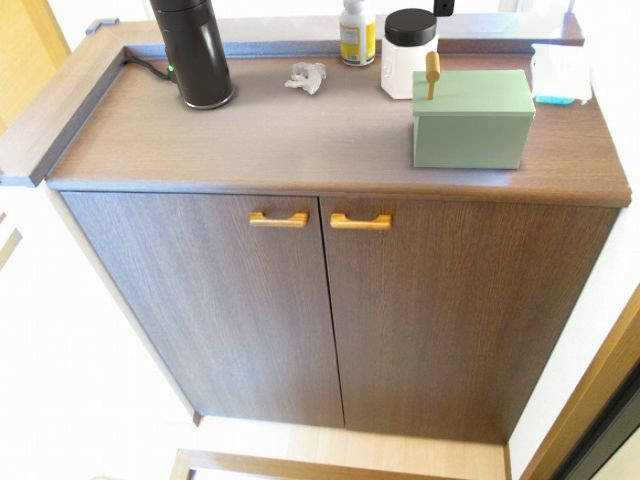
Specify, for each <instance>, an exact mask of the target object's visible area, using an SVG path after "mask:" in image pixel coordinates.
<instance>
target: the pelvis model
mask: <svg viewBox="0 0 640 480" xmlns="http://www.w3.org/2000/svg"><path fill="white" fill-rule="evenodd" d="M325 68H326V65H324V64H323V63H321V62H317V61H316V62H315V63H314V62H313V63H311V62H304V61H300V62H297V63H293V64H292V73H293V74H291V75H290V78H291V79H292V80H291V79H288V80H287V81H286V82H284V86H285V87H286V88H294V89H296V88H302V89H303V91H307V92H308V94H309V95H312V96H313V95H314V94H315V93H316V92H317V91H318V90H319V87H320V85H321V84H322V80H326V79H327V73H326V70H325ZM297 72H300V73H299V75H298V74H297ZM306 77H307V78H306Z"/></svg>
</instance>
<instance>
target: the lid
mask: <svg viewBox="0 0 640 480" xmlns="http://www.w3.org/2000/svg"><path fill="white" fill-rule="evenodd" d="M425 69H426V71H413V75H412V80H413V99H412V117H415V116H445V117H534V118H535V116H536V112H537V110H536V108H535V105H534V101H533V97H532V94H531V90H530V87H529V83H528V80H527V76H526V73H525V70H524V69H476V70H473V69H471V70H470V69H469V70H468V69H467V70H440V55H439V53H438V52H437V50H436V51H430V52H428V53H427V54H426V56H425Z"/></svg>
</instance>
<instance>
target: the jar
mask: <svg viewBox="0 0 640 480" xmlns="http://www.w3.org/2000/svg"><path fill="white" fill-rule="evenodd" d="M384 20H385V21H384V34H383V35H382V37H381V69H380V70H381V74H380V75H381V76H380V79H381V80H380V87H381V89H382V90H384V91H385V93H386V94H388V95H389V96H390V97H391V98H392V99H393V100H413V80H412V75H413V71H426V69H425V56H426V54H427V53H428V52H430V51H436V52H437V49H438V40H439V33H437V27H438V25H437V24H438V17H435V16H434V14H433V11H430V10H428V9H425V8H424V9H423V8H417V7H408V8H407V7H406V8H401V9H398V10H395V11H392V12H391V13H389V14H388V15H387V16H386V18H385V19H384Z"/></svg>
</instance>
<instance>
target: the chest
mask: <svg viewBox="0 0 640 480" xmlns="http://www.w3.org/2000/svg"><path fill="white" fill-rule="evenodd" d="M534 119H535V116H534V117H445V116H414V117H413V167H414V168H439V169H441V168H443V169H445V168H446V169H497V170H498V169H502V170H503V169H504V170H518V169H519V166H520V163H521V160H522V157H523V153H524V150H525V148H526V145H527V140H528V138H529V134H530V131H531V129H532V125H533V122H534Z"/></svg>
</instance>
